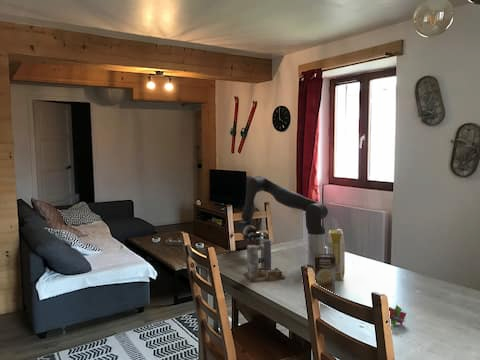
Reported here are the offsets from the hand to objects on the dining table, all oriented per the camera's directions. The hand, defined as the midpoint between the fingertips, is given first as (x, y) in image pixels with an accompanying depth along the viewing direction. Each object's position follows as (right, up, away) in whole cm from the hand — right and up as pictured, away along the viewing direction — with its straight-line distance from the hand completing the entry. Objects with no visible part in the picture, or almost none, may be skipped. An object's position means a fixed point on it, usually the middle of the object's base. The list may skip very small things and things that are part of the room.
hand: (259, 238), depth 222 cm
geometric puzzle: (+45, -19, -80) cm, 93 cm away
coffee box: (+27, -17, -45) cm, 55 cm away
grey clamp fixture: (+1, -14, -10) cm, 18 cm away
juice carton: (+36, -15, -28) cm, 48 cm away
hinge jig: (+2, -15, -24) cm, 28 cm away
